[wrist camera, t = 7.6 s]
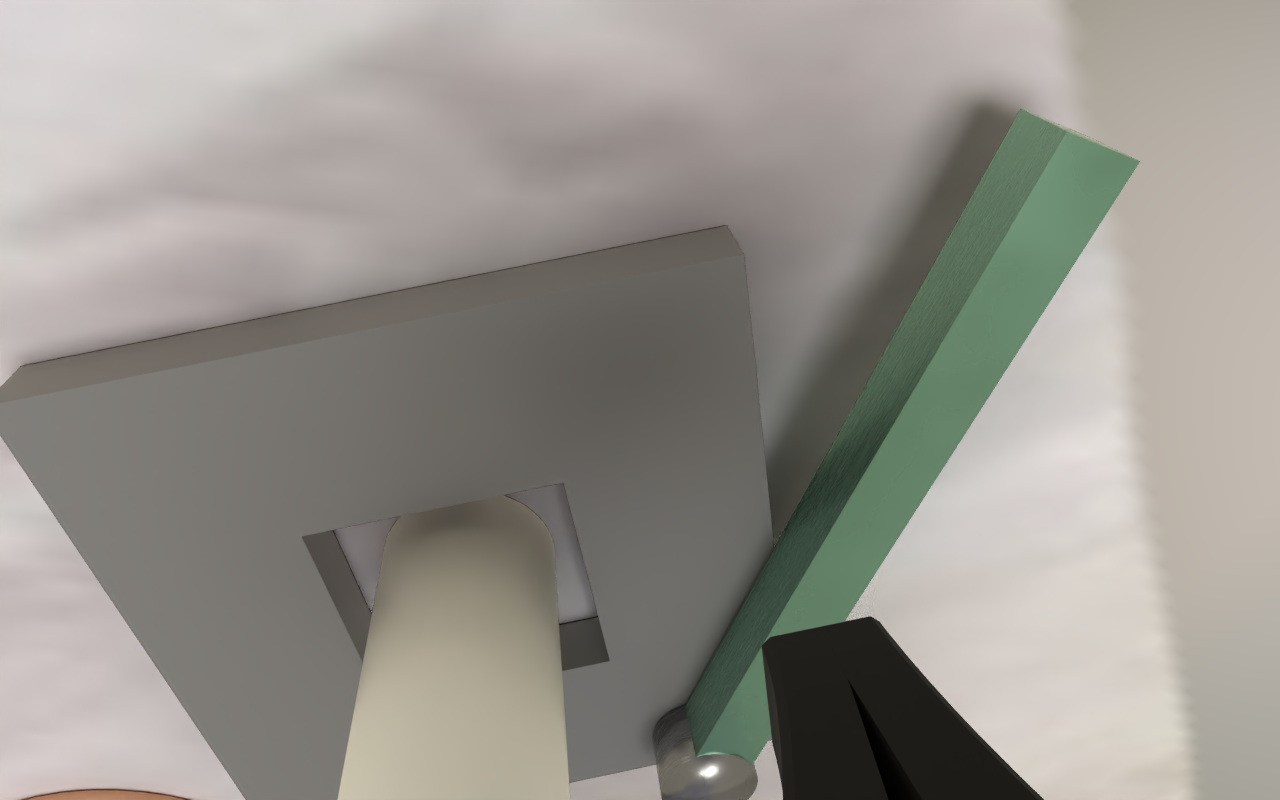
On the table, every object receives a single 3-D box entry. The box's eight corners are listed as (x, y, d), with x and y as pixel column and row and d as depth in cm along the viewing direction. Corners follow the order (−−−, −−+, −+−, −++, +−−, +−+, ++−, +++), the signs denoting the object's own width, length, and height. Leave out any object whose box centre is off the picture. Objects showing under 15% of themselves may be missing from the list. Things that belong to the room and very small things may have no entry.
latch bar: (721, 767, 24) (734, 822, 22) (638, 756, 23) (647, 811, 22) (1107, 144, 16) (1163, 171, 14) (998, 99, 15) (1046, 122, 14)
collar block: (779, 690, 25) (793, 735, 24) (288, 794, 24) (276, 845, 23) (727, 225, 17) (744, 254, 16) (20, 366, 17) (-19, 407, 16)
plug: (569, 600, 22) (595, 927, 15) (412, 632, 22) (367, 976, 15) (534, 475, 20) (546, 790, 13) (359, 510, 20) (281, 847, 13)
